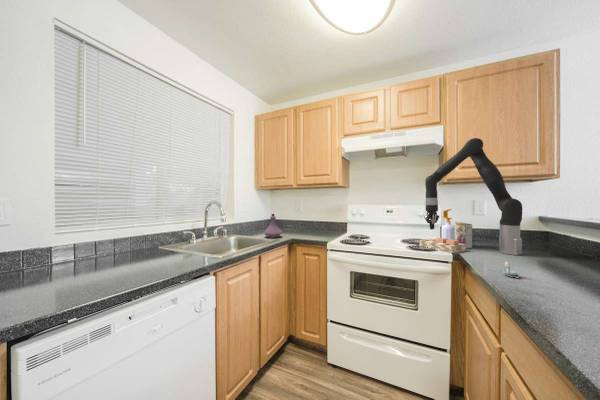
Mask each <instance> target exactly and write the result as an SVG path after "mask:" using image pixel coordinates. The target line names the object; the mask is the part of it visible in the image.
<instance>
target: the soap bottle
mask: <svg viewBox="0 0 600 400" xmlns="http://www.w3.org/2000/svg"><path fill="white" fill-rule="evenodd" d="M450 211H452V209H450V208H447V209H446V210H445V209H444V210H443V211H442V213H443V215H442V217H443V219H445V220H446V221H445V224H444V225H442V226H441V237H440V238H445V239H447V240H450V239H451V240H455V225H452V222H451V219H453V217H448V215H449V214H448V212H450Z"/></svg>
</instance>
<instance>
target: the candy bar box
mask: <svg viewBox="0 0 600 400" xmlns="http://www.w3.org/2000/svg"><path fill="white" fill-rule="evenodd" d="M454 227H455V240H457V241H458V243H460V244H466V249H473V224H472V223H468V222H461V221H454Z"/></svg>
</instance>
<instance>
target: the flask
mask: <svg viewBox="0 0 600 400" xmlns="http://www.w3.org/2000/svg"><path fill="white" fill-rule="evenodd" d="M269 219H270V223H269V225H268V227H267V228H266V229H265V230H264V231H263V234H264V235H265V236H266V237H267V238H269V239H274V238H275V239H277V238H279V237H280V236H281V234H282V233H283V230H281V229H280V227H278V225H277V222H276V216H275V214H274V213H271V216H270V217H269Z"/></svg>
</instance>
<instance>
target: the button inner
mask: <svg viewBox="0 0 600 400" xmlns="http://www.w3.org/2000/svg"><path fill="white" fill-rule="evenodd" d="M446 244H450V245H458V241H457V240H451V239H450V240H446Z"/></svg>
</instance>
